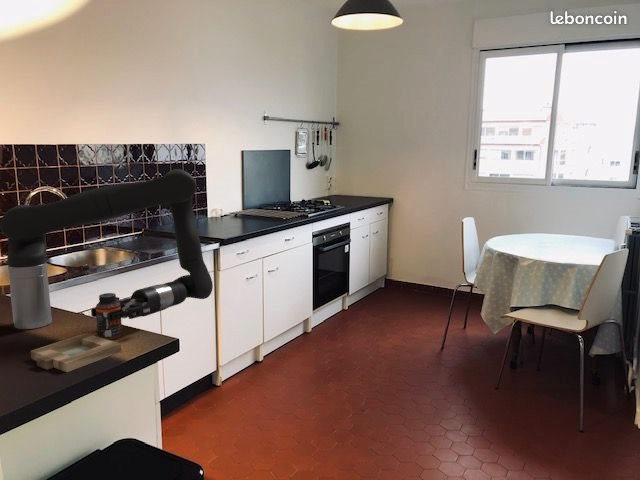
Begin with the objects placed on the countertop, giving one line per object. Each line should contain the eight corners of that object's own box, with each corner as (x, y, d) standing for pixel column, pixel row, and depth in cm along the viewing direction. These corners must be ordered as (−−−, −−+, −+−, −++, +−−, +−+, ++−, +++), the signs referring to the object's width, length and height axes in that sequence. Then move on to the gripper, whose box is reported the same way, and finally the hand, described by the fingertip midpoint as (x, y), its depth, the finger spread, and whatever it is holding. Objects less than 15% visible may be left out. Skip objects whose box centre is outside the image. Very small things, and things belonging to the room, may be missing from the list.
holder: (24, 361, 120) (24, 352, 120) (85, 340, 133) (85, 333, 133) (60, 374, 113) (59, 366, 113) (121, 351, 126) (120, 343, 125)
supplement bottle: (113, 341, 132) (110, 298, 130) (93, 340, 133) (89, 297, 132) (127, 333, 138) (124, 292, 136) (106, 332, 139) (103, 291, 137)
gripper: (135, 283, 150) (81, 296, 136) (170, 290, 142) (117, 305, 128) (136, 308, 151) (83, 324, 137) (171, 316, 143) (119, 334, 129)
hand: (100, 315), depth 133 cm, fingers closed on supplement bottle, 6 cm apart
